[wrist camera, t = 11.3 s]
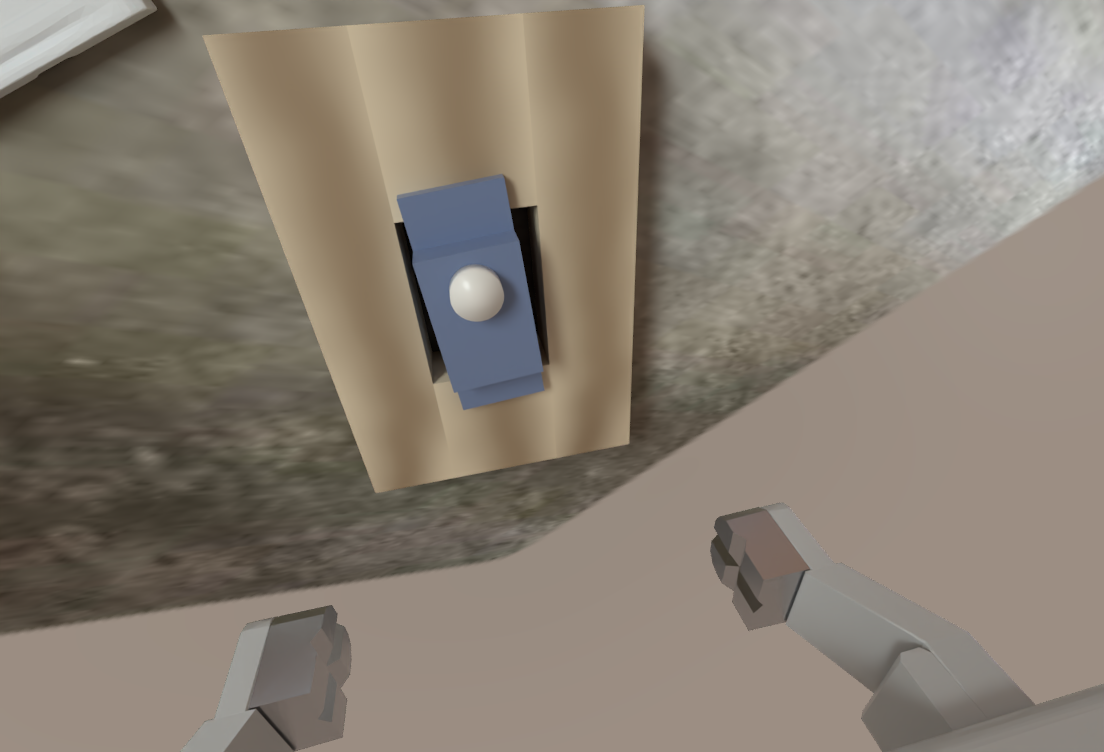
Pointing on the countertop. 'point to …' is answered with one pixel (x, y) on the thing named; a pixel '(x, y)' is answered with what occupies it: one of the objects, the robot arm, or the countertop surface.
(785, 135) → the countertop surface
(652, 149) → the countertop surface
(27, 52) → the external hard drive
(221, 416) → the countertop surface
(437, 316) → the block
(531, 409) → the wooden board with hole
